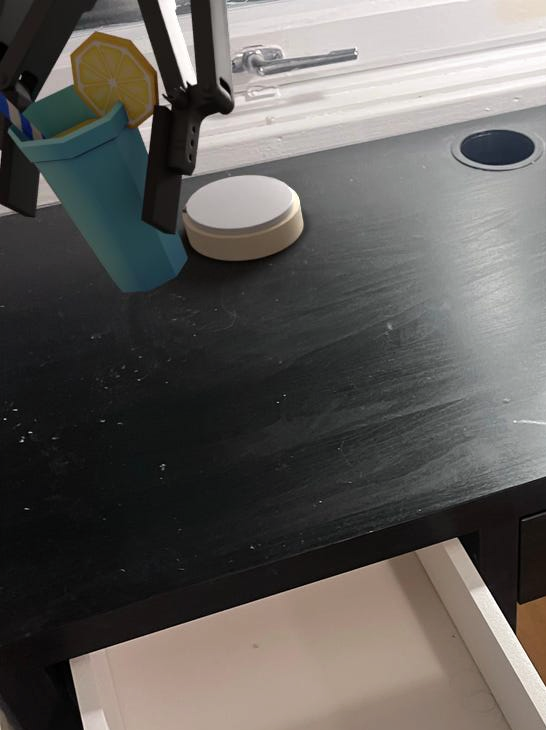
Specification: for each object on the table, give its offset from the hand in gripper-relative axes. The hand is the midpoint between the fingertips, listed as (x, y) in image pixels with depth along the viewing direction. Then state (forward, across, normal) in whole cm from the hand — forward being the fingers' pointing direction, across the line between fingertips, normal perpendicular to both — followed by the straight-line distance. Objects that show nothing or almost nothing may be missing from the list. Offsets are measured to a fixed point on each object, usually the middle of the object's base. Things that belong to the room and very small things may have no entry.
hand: (86, 218), depth 61 cm
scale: (-9, +7, -35) cm, 37 cm away
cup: (+2, 0, -6) cm, 7 cm away
